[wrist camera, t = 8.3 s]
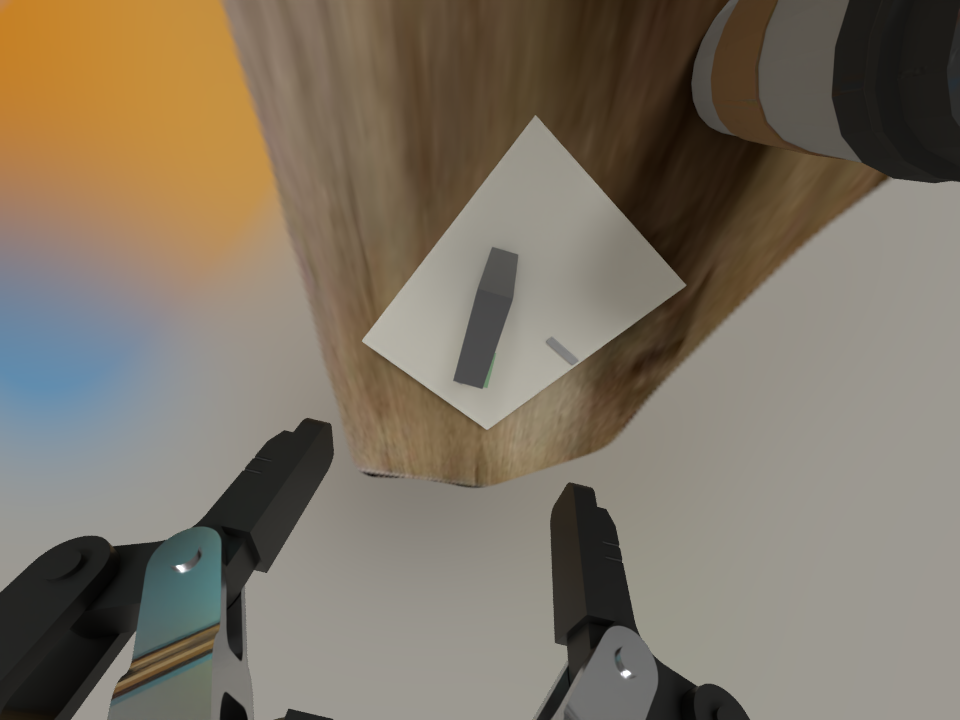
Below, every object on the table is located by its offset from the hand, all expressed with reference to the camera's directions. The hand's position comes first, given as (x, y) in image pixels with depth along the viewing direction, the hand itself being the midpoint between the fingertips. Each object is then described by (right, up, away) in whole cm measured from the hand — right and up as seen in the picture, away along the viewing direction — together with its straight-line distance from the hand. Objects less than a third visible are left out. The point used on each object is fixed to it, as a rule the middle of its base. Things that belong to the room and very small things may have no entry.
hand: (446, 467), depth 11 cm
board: (+3, +8, +16) cm, 18 cm away
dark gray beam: (+1, +6, +14) cm, 15 cm away
